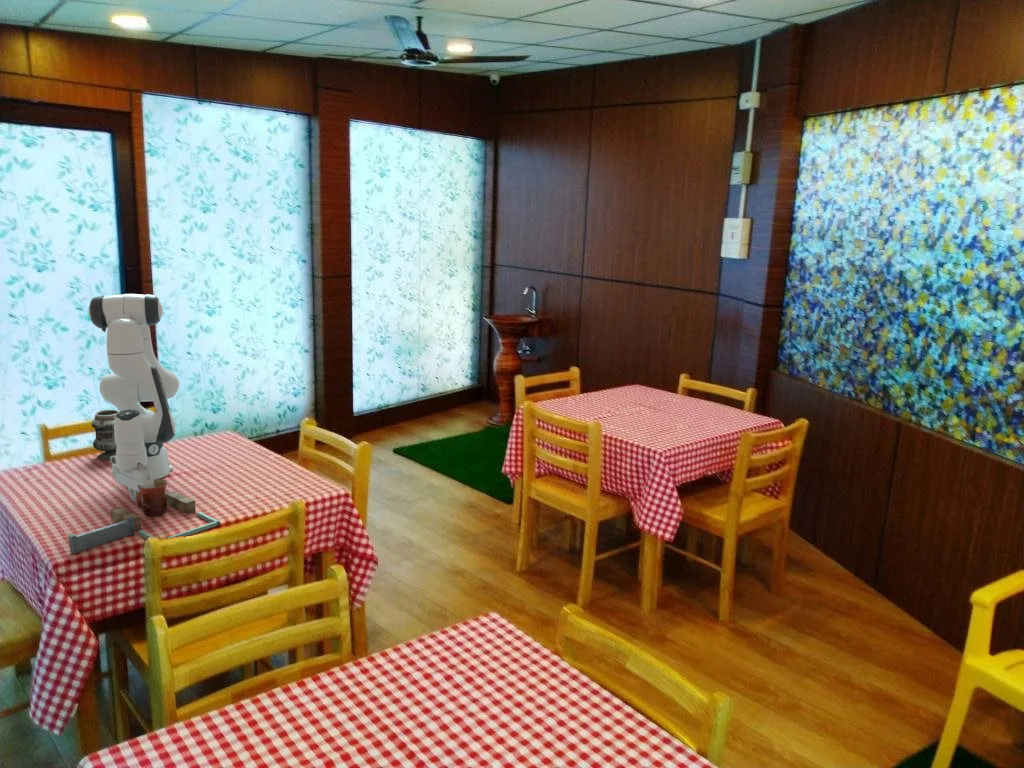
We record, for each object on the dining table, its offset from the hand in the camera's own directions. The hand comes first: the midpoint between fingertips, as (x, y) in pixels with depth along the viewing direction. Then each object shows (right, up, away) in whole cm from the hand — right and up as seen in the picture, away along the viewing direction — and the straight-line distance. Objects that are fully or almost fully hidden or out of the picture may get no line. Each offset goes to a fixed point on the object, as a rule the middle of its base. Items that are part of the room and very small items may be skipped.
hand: (136, 500), depth 258 cm
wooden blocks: (+9, -4, -6) cm, 11 cm away
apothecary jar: (-34, +10, +51) cm, 62 cm away
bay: (+21, -7, -15) cm, 27 cm away
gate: (+3, -9, -25) cm, 27 cm away
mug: (+7, -4, -5) cm, 10 cm away
